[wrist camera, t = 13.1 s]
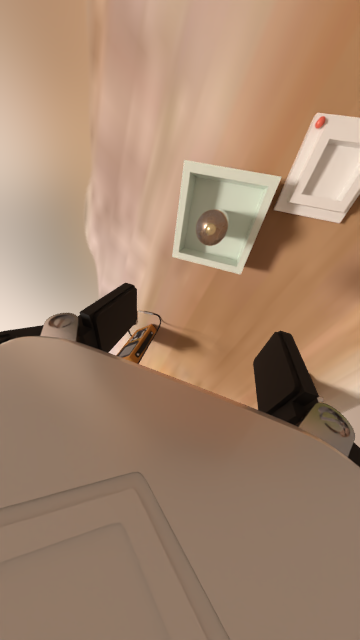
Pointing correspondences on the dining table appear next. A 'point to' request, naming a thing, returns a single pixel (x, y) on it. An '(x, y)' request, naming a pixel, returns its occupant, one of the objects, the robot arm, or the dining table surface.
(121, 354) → the multimeter
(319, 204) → the checker cradle
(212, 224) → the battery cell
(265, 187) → the white open box
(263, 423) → the robot arm
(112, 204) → the dining table surface
